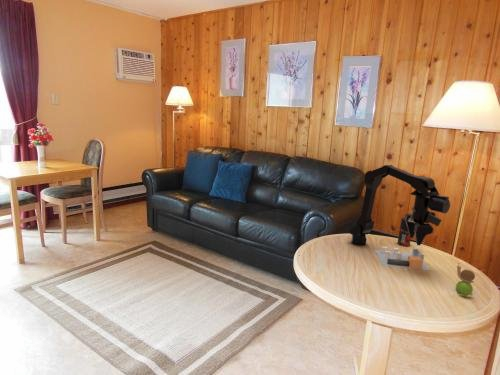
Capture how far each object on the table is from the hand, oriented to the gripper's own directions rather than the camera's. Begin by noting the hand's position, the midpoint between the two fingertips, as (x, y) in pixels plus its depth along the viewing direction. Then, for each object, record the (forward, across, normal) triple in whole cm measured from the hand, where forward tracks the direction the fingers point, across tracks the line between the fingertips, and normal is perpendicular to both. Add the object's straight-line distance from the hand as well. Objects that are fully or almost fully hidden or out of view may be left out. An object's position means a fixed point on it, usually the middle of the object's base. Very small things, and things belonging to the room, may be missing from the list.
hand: (414, 241), depth 148 cm
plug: (+12, 0, +3) cm, 12 cm away
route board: (+13, +6, +3) cm, 15 cm away
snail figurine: (+13, -19, -13) cm, 26 cm away
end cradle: (+12, +9, -6) cm, 16 cm away
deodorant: (+13, +27, -4) cm, 31 cm away
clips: (+12, +9, +6) cm, 16 cm away
